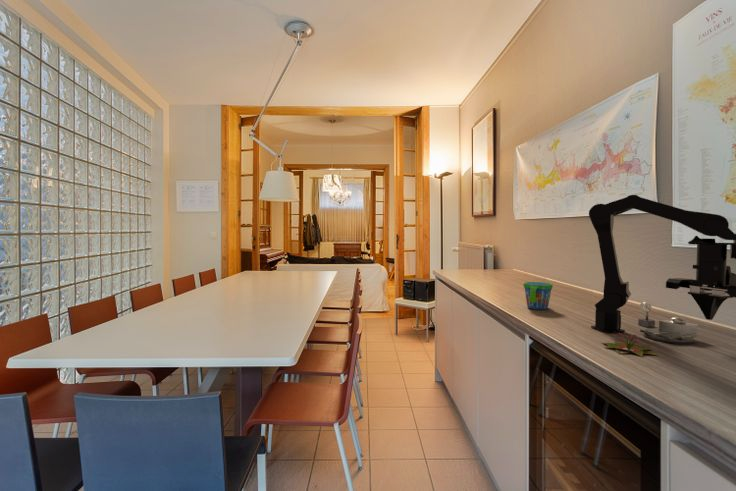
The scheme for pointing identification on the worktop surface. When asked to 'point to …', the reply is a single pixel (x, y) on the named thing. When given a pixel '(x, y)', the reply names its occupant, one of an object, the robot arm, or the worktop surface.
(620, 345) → the lily flower
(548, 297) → the snack cup
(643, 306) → the dial gauge
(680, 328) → the cover
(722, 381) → the worktop surface
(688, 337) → the turntable
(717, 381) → the worktop surface
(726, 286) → the robot arm
